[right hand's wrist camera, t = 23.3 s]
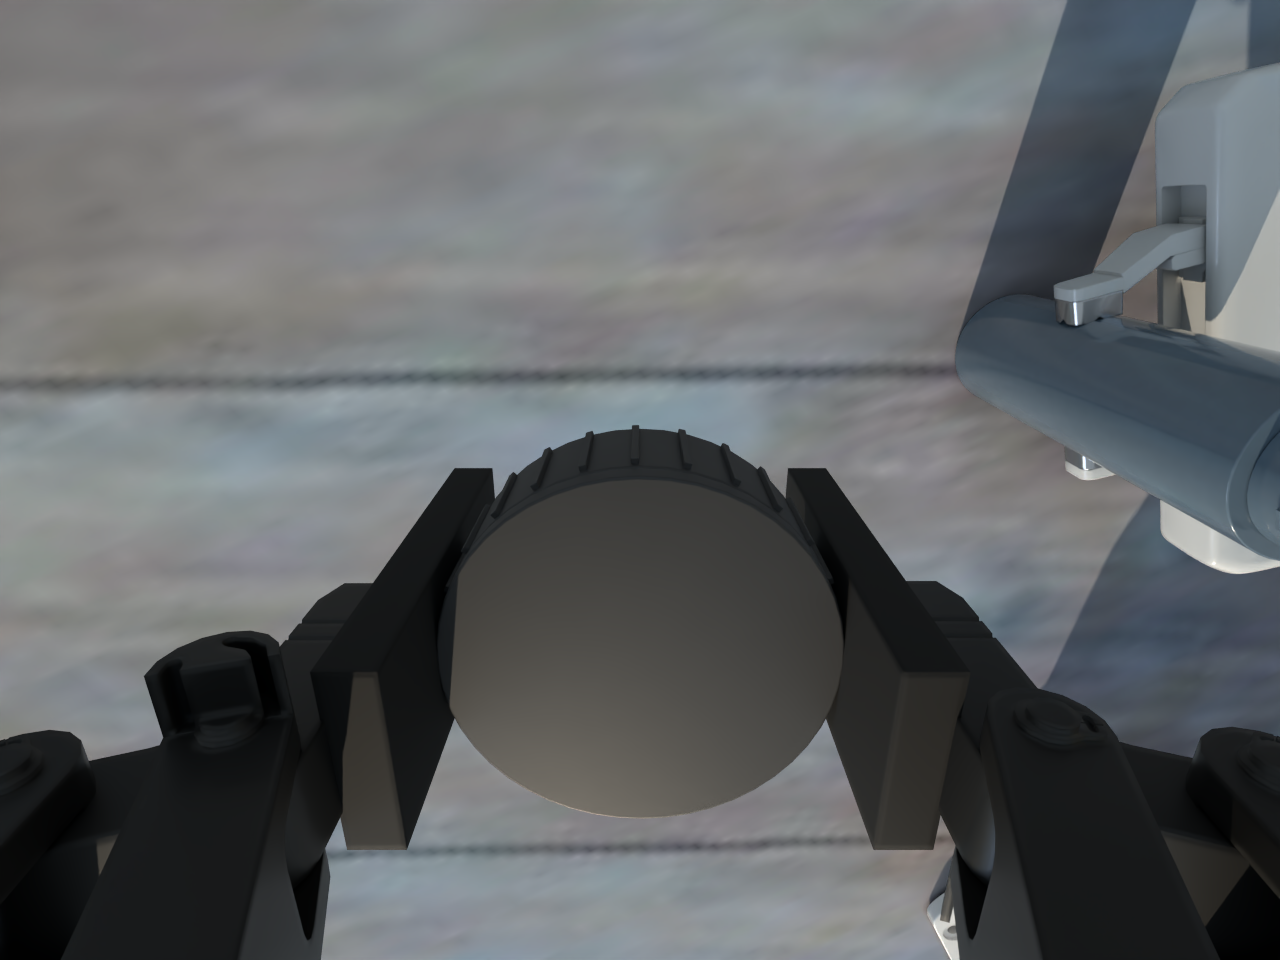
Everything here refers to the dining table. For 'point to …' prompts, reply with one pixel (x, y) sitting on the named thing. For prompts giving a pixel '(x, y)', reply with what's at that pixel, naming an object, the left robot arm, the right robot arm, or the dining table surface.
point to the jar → (1142, 407)
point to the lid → (640, 627)
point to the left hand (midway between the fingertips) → (1067, 387)
